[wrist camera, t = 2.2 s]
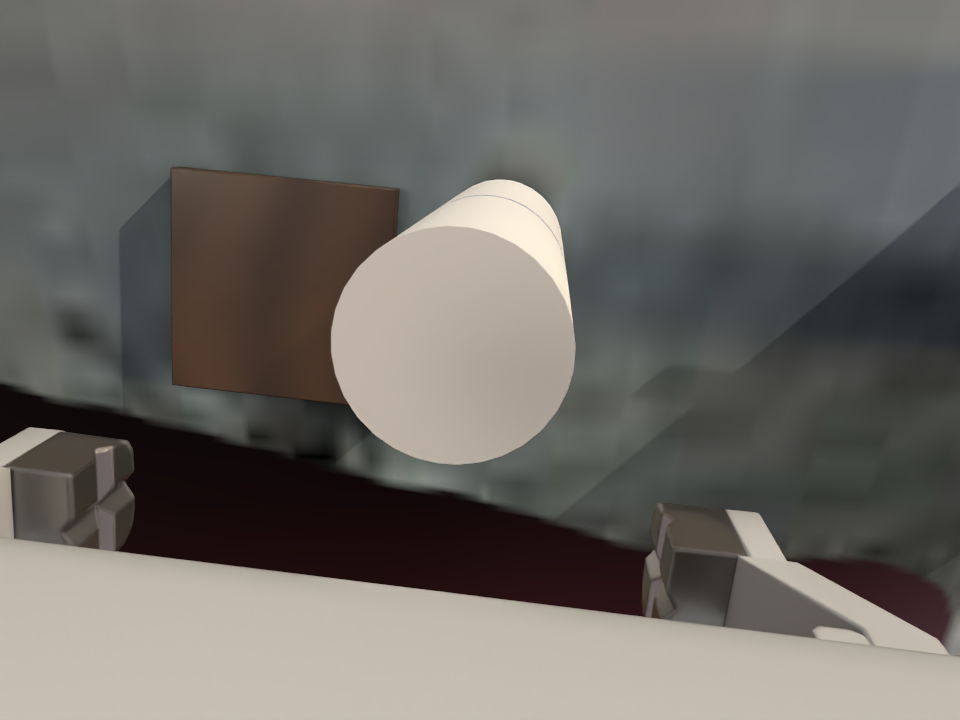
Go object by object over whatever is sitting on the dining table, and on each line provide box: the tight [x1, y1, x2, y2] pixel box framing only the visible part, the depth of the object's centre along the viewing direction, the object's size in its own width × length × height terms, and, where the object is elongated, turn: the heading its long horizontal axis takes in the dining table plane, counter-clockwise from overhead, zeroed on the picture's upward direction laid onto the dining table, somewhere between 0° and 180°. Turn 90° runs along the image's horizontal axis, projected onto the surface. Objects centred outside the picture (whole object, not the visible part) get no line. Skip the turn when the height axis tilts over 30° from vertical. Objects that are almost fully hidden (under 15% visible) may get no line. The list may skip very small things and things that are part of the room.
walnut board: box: [171, 167, 400, 405], centre depth 50 cm, size 13×13×1 cm
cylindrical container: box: [331, 180, 576, 465], centre depth 36 cm, size 7×7×25 cm
